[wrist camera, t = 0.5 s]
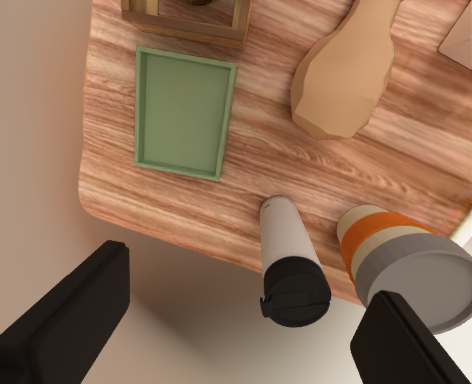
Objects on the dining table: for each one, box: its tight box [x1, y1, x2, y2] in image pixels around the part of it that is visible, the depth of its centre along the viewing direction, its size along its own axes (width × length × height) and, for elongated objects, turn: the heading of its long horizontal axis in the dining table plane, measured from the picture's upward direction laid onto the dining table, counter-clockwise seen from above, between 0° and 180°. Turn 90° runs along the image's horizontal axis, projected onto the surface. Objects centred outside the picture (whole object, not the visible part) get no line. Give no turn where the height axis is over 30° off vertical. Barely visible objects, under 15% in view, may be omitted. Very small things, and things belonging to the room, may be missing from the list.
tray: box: [134, 46, 238, 181], centre depth 33 cm, size 16×13×3 cm
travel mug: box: [260, 196, 331, 327], centre depth 29 cm, size 6×7×20 cm
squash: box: [290, 0, 403, 141], centre depth 27 cm, size 11×20×9 cm, turn 162°
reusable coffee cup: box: [336, 205, 472, 335], centre depth 32 cm, size 13×12×15 cm
